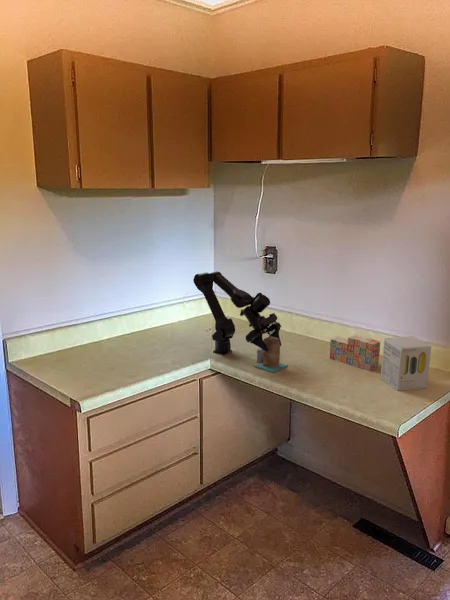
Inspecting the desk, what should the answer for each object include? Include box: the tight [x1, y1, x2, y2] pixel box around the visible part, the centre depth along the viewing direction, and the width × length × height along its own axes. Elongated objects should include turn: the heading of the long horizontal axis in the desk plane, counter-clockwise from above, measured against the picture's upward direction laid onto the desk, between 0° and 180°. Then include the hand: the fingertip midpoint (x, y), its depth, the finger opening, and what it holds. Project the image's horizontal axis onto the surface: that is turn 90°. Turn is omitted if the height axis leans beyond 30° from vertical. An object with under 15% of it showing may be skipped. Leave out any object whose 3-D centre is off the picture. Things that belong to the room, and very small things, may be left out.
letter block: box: [262, 336, 281, 368], centre depth 231 cm, size 5×5×12 cm
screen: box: [256, 347, 263, 363], centre depth 243 cm, size 2×13×6 cm, turn 159°
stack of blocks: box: [329, 334, 381, 372], centre depth 237 cm, size 21×6×12 cm, turn 43°
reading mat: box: [254, 361, 288, 374], centre depth 232 cm, size 10×10×1 cm
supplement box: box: [380, 335, 432, 391], centre depth 214 cm, size 13×13×18 cm
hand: (274, 348), depth 230 cm, fingers open, 9 cm apart
